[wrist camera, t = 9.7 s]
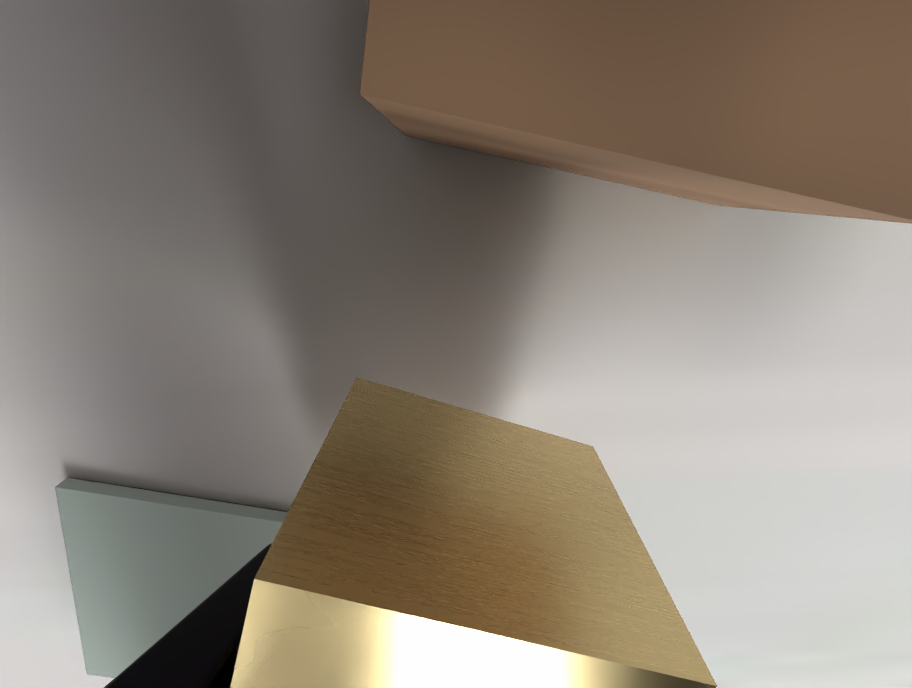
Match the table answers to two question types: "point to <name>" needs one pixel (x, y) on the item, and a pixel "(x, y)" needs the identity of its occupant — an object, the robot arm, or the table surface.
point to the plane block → (665, 93)
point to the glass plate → (148, 561)
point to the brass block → (458, 564)
